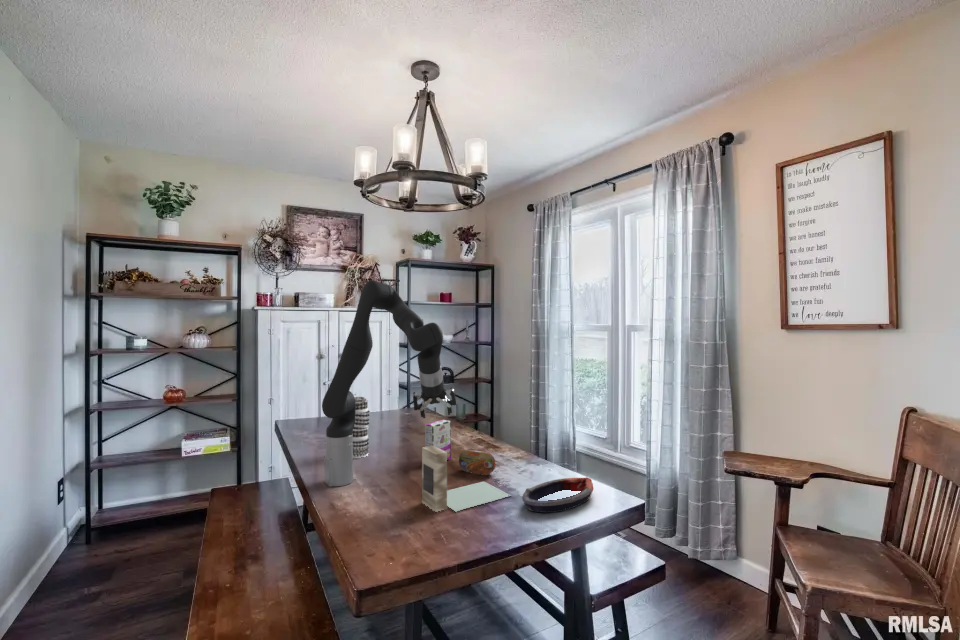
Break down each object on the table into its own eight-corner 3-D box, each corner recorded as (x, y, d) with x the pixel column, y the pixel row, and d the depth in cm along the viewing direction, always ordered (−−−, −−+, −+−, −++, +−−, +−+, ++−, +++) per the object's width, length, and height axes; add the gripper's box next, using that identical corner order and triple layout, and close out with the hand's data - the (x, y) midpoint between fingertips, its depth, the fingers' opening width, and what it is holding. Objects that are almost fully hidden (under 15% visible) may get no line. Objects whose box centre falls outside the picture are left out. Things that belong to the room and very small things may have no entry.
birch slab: (434, 513, 141) (434, 454, 141) (421, 503, 148) (421, 447, 148) (446, 509, 143) (447, 452, 143) (432, 500, 151) (432, 445, 151)
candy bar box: (442, 457, 196) (442, 419, 196) (451, 459, 193) (451, 420, 193) (424, 464, 187) (424, 424, 187) (433, 466, 184) (433, 425, 184)
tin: (458, 470, 179) (458, 449, 179) (462, 468, 182) (462, 447, 182) (492, 477, 172) (492, 454, 172) (496, 474, 175) (496, 452, 175)
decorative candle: (366, 458, 194) (366, 399, 194) (344, 458, 194) (344, 399, 194) (372, 452, 203) (372, 396, 203) (351, 452, 203) (351, 395, 203)
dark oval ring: (509, 505, 147) (509, 489, 147) (575, 484, 165) (575, 470, 165) (543, 523, 135) (543, 506, 135) (610, 498, 153) (610, 483, 153)
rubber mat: (455, 512, 141) (455, 511, 141) (430, 495, 154) (430, 494, 154) (511, 496, 154) (511, 495, 154) (483, 482, 167) (483, 481, 167)
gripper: (452, 368, 153) (456, 405, 162) (409, 374, 152) (415, 410, 161) (454, 383, 147) (458, 420, 156) (409, 388, 146) (416, 425, 154)
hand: (436, 415), depth 158 cm, fingers open, 8 cm apart
